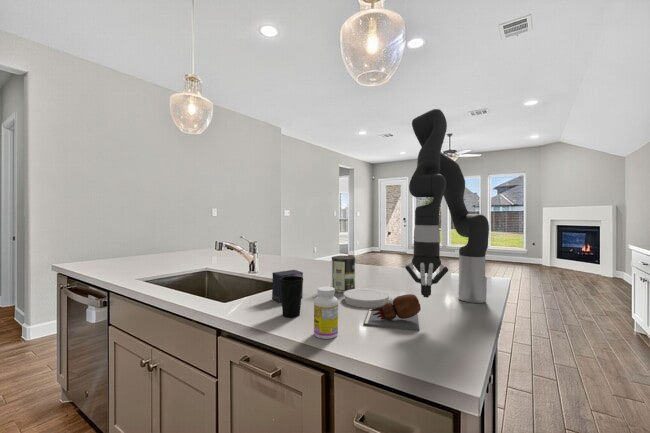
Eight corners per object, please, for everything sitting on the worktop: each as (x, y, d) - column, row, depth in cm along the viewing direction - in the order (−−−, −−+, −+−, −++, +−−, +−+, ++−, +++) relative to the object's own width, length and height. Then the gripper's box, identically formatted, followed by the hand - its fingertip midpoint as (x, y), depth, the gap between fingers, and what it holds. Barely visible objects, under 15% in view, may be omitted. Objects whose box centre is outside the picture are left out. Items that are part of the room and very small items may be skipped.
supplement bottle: (313, 330, 88) (313, 285, 88) (336, 330, 89) (336, 285, 88) (314, 340, 81) (314, 291, 81) (339, 339, 82) (339, 291, 82)
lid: (402, 308, 110) (402, 300, 110) (346, 309, 108) (346, 300, 108) (389, 295, 127) (389, 288, 127) (340, 295, 126) (340, 288, 126)
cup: (284, 320, 96) (284, 281, 96) (276, 313, 103) (276, 277, 103) (306, 316, 100) (307, 279, 99) (297, 309, 106) (297, 275, 106)
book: (417, 314, 102) (417, 313, 102) (419, 330, 88) (419, 328, 88) (368, 310, 106) (368, 308, 106) (363, 325, 92) (363, 323, 92)
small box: (280, 303, 114) (280, 275, 114) (271, 299, 119) (271, 272, 119) (303, 298, 121) (303, 271, 121) (293, 294, 126) (293, 269, 126)
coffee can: (354, 286, 140) (354, 255, 139) (356, 292, 129) (356, 259, 129) (331, 286, 140) (331, 255, 140) (331, 292, 130) (331, 259, 129)
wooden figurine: (413, 289, 98) (367, 303, 99) (416, 294, 92) (368, 308, 93) (420, 310, 97) (374, 323, 99) (424, 315, 92) (375, 330, 93)
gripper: (448, 239, 96) (447, 295, 96) (404, 238, 99) (403, 292, 100) (451, 241, 89) (450, 302, 89) (404, 240, 92) (403, 298, 92)
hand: (425, 296), depth 94 cm, fingers closed
